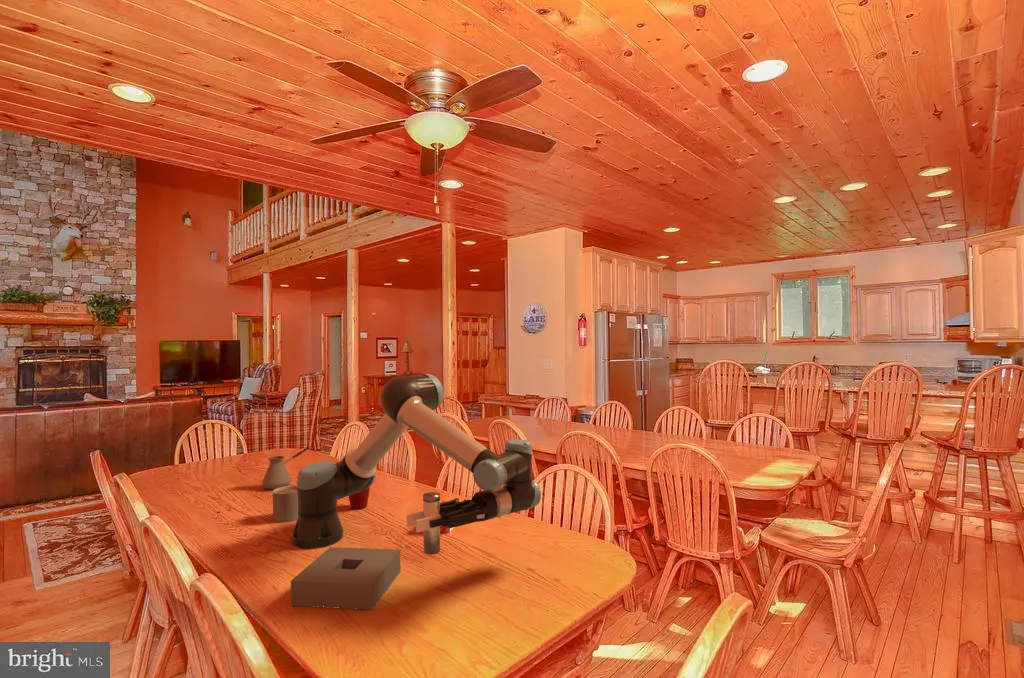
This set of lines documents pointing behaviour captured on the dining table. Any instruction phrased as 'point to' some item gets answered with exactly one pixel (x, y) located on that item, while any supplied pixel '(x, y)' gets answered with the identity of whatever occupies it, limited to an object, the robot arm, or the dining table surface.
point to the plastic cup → (359, 499)
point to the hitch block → (346, 578)
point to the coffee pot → (278, 472)
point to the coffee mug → (285, 504)
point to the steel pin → (433, 535)
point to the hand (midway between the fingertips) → (412, 523)
